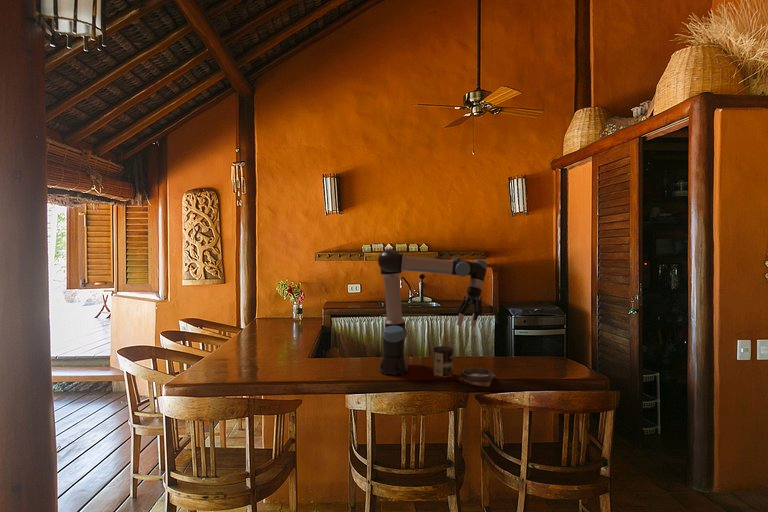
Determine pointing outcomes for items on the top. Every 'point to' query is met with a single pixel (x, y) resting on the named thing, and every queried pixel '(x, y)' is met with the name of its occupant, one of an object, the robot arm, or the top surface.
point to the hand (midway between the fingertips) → (465, 326)
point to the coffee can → (443, 361)
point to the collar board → (477, 376)
